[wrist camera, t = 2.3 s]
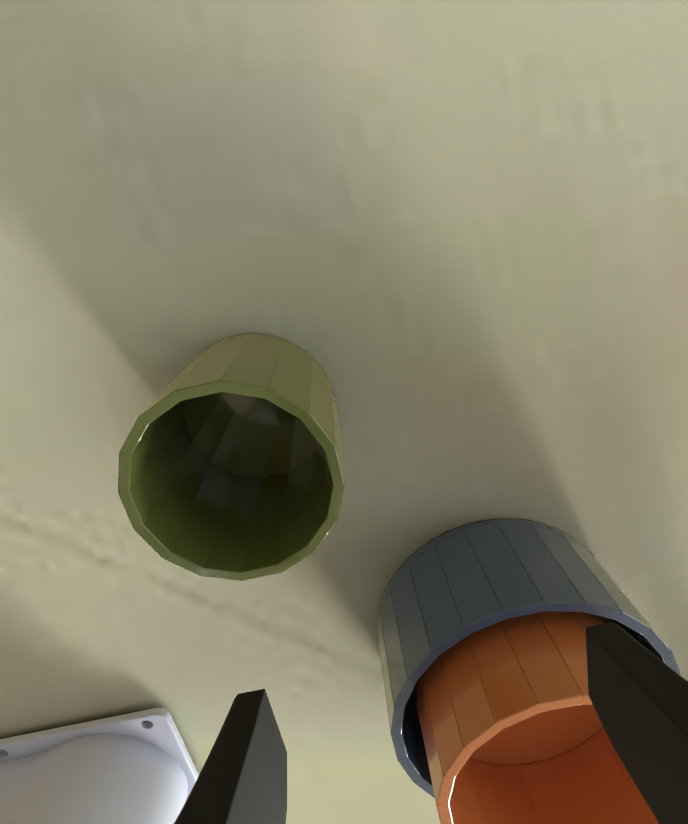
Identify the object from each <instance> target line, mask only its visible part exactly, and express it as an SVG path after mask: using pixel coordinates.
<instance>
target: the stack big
mask: <svg viewBox="0 0 688 824" xmlns="http://www.w3.org/2000/svg"><path fill="white" fill-rule="evenodd" d="M540 612H584V613H588V614H592V615H596V616H601V617H605V618H606V619H607V620H608V621H609V623H610V622H614V623H616V624H617V625H619V626H620V627H621V628H622V629H623V630H625V631H626V632H627V633H628V634H629V635H631V636H632V637H633V638H634V639H636V640H637V641H638V642H639V643H640V644H642V645H643V646H644V647H645V648H646V649H648V650H649V651H650V652H651V653H653V654H654V655H655V656H656V657H658V658H659V659H660V660H661V661H663V662H664V663H665V664H666V665H668V666H669V667H670V668H671V669H673V670H674V671H675V672H676V673H678V674H679V675H680V676H681V674H680V672H679V669H678V666H677V664H676V661H675V658H674V655H673V653H672V650H671V649H670V648H669V646H668V645H667V644H666V643H665V642H664V640H663V639H662V638H661V637H660V636H659V634H658V633H657V632H656V631H655V630H654V628H653V627H652V626H651V625H650V623H649V622H648V621H647V620H646V619H645V617H644V616H643V615H642V614H641V613H640V611H639V610H638V609H637V608H636V607H635V605H634V604H633V603H632V602H631V601H630V599H629V598H628V597H627V596H626V594H625V593H624V592H623V591H622V590H621V588H620V587H619V586H618V585H617V584H616V582H615V581H614V580H613V579H612V578H611V576H610V575H609V574H608V573H607V572H606V570H605V569H604V568H603V567H602V566H601V564H600V563H599V562H598V561H597V560H596V559H595V558H594V556H593V555H592V554H591V553H590V552H589V551H588V550H587V549H586V548H585V547H584V546H583V545H582V544H581V543H580V542H579V541H577V540H576V539H575V538H573V537H572V536H570V535H569V534H567V533H565V532H563V531H561V530H559V529H557V528H554V527H551V526H548V525H545V524H543V523H538V522H533V521H528V520H518V519H496V520H488V521H482V522H477V523H473V524H469V525H465V526H462V527H459V528H457V529H454V530H452V531H449V532H447V533H445V534H443V535H441V536H439V537H437V538H435V539H433V540H432V541H430V542H429V543H427V544H426V545H424V546H423V547H421V548H420V549H419V550H417V551H416V552H415V553H414V554H413V555H412V556H411V557H409V558H408V559H407V560H406V561H405V563H404V564H403V565H402V566H401V567H400V568H399V569H398V570H397V572H396V573H395V575H394V576H393V578H392V579H391V581H390V582H389V584H388V586H387V588H386V590H385V592H384V594H383V597H382V600H381V603H380V607H379V613H378V627H377V631H378V636H377V637H378V644H379V652H380V659H381V666H382V673H383V681H384V688H385V695H386V702H387V710H388V717H389V724H390V731H391V737H392V740H393V744H394V748H395V752H396V756H397V759H398V761H399V762H400V764H401V765H402V767H403V768H404V770H405V771H406V772H407V774H408V775H409V777H410V778H411V780H412V781H413V782H414V783H415V784H417V785H418V786H419V787H421V788H422V789H423V790H424V791H426V792H427V793H428V794H430V795H431V796H432V797H434V798H435V796H434V791H433V786H432V781H431V776H430V771H429V766H428V761H427V756H426V751H425V746H424V741H423V736H422V731H421V726H420V721H419V716H418V710H417V704H416V699H415V694H414V687H415V685H416V683H417V681H418V679H419V678H420V677H421V676H422V675H423V674H424V673H425V671H426V670H427V669H428V668H429V667H430V666H431V665H432V664H433V662H434V661H435V660H436V659H437V658H438V657H439V656H440V655H441V654H443V653H444V652H445V651H447V650H448V649H450V648H451V647H453V646H454V645H455V644H457V643H458V642H460V641H461V640H463V639H464V638H465V637H467V636H468V635H470V634H472V633H474V632H477V631H479V630H482V629H484V628H486V627H489V626H491V625H493V624H496V623H498V622H500V621H503V620H505V619H510V618H515V617H520V616H525V615H530V614H535V613H540Z"/></svg>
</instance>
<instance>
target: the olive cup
mask: <svg viewBox="0 0 688 824" xmlns="http://www.w3.org/2000/svg"><path fill="white" fill-rule="evenodd" d="M343 489H344V474H343V463H342V452H341V441H340V430H339V419H338V410H337V406H336V402H335V396H334V392H333V388H332V385H331V382H330V381H329V379H328V376H327V375H326V373H325V372H324V370H323V368H322V367H321V366H320V365H319V363H318V362H317V361H316V360H315V359H314V358H313V357H312V356H311V355H310V354H309V353H308V352H306V351H305V350H303V349H302V348H301V347H299V346H297V345H296V344H294V343H292V342H290V341H288V340H285V339H282V338H279V337H276V336H271V335H265V334H243V335H237V336H233V337H230V338H226V339H224V340H222V341H219V342H217V343H215V344H214V345H212V346H211V347H209V348H208V349H206V350H205V351H204V352H203V353H202V354H200V355H199V356H198V357H196V358H195V359H194V360H193V361H192V362H191V363H190V364H189V365H188V366H187V367H186V368H185V369H184V370H183V371H182V372H181V373H180V374H179V375H178V376H177V377H176V378H175V379H174V380H173V381H172V382H171V383H170V385H169V386H168V387H167V388H166V389H165V390H164V391H163V392H162V393H161V394H160V395H159V396H158V397H157V398H156V399H155V400H154V401H153V402H152V403H151V404H150V405H149V406H148V407H147V408H146V410H145V411H144V412H143V413H142V414H141V415H140V416H139V417H138V419H137V420H136V422H135V424H134V426H133V428H132V430H131V432H130V433H129V435H128V437H127V439H126V441H125V443H124V444H123V446H122V448H121V450H120V453H119V478H118V492H119V496H120V498H121V501H122V503H123V505H124V508H125V510H126V512H127V515H128V517H129V519H130V522H131V524H132V526H133V528H134V530H135V531H136V532H137V533H138V534H139V535H140V536H141V537H142V538H143V539H144V540H145V541H146V542H147V543H148V544H149V545H150V546H151V547H152V548H153V549H154V550H155V551H156V552H157V553H158V554H159V555H160V556H161V557H162V558H164V559H166V560H168V561H170V562H172V563H174V564H176V565H178V566H181V567H183V568H185V569H187V570H189V571H191V572H193V573H196V574H198V575H201V576H206V577H214V578H223V579H231V580H240V581H241V580H248V579H253V578H257V577H262V576H267V575H272V574H277V573H281V572H283V571H285V570H286V569H288V568H289V567H291V566H293V565H294V564H296V563H298V562H299V561H301V560H302V559H304V558H306V557H307V556H309V555H310V554H312V553H314V551H316V549H317V548H318V547H319V545H320V544H321V542H322V541H323V540H324V538H325V537H326V536H327V534H328V533H329V531H330V530H331V529H332V527H333V526H334V525H335V523H336V521H337V519H338V514H339V509H340V504H341V499H342V494H343Z"/></svg>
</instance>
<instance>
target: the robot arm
mask: <svg viewBox="0 0 688 824" xmlns="http://www.w3.org/2000/svg"><path fill="white" fill-rule="evenodd" d="M585 628H586V650H587V672H588V694H589V697H590V699H591V702H592V704H593V706H594V708H595V710H596V712H597V714H598V717H599V719H600V721H601V723H602V725H603V727H604V729H605V731H606V733H607V735H608V737H609V739H610V741H611V744H612V746H613V747H614V749H615V751H616V753H617V754H618V756H619V758H620V759H621V761H622V763H623V764H624V766H625V768H626V769H627V771H628V773H629V774H630V776H631V778H632V779H633V781H634V783H635V784H636V786H637V788H638V789H639V791H640V793H641V794H642V796H643V798H644V799H645V801H646V803H647V804H648V806H649V808H650V809H651V811H652V813H653V814H654V816H655V818H656V819H657V821H658V822H659V824H688V681H687V680H685V679H684V678H683V677H681V676H680V675H679V674H678V673H676V672H675V671H674V670H673V669H671V668H670V667H669V666H668V665H666V664H665V663H664V662H663V661H661V660H660V659H659V658H658V657H656V656H655V655H654V654H653V653H651V652H650V651H649V650H648V649H646V648H645V647H644V646H643V645H642V644H640V643H639V642H638V641H637V640H636V639H634V638H633V637H632V636H631V635H629V634H628V633H627V632H626V631H625V630H623V629H622V628H621V627H620V626H619V625H617V624H616V623H614V622H610V623H605V624H600V625H595V626H590V627H585ZM286 811H287V751H286V748H285V745H284V743H283V740H282V737H281V734H280V731H279V728H278V726H277V723H276V720H275V717H274V714H273V711H272V708H271V706H270V703H269V700H268V697H267V694H266V691H265V689H262V690H257V691H251V692H246V693H241V694H238V695H237V696H236V698H235V699H234V701H233V704H232V706H231V708H230V711H229V713H228V715H227V717H226V719H225V722H224V724H223V726H222V728H221V731H220V733H219V735H218V737H217V739H216V741H215V744H214V746H213V748H212V750H211V752H210V754H209V756H208V758H207V760H206V762H205V764H204V766H203V768H202V770H201V772H200V774H198V772H197V770H196V768H195V766H194V764H193V761H192V759H191V757H190V755H189V753H188V751H187V749H186V746H185V744H184V742H183V740H182V738H181V736H180V734H179V732H178V729H177V727H176V725H175V723H174V721H173V719H172V717H171V715H170V713H169V712H168V710H166V709H164V708H153V709H148V710H143V711H138V712H133V713H128V714H123V715H118V716H113V717H108V718H103V719H98V720H94V721H89V722H84V723H79V724H74V725H69V726H64V727H59V728H54V729H49V730H44V731H39V732H34V733H29V734H24V735H19V736H14V737H9V738H4V739H0V824H285V823H286Z"/></svg>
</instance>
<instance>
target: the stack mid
mask: <svg viewBox="0 0 688 824" xmlns="http://www.w3.org/2000/svg"><path fill="white" fill-rule="evenodd" d="M605 623H609V621H608V620H607V619H606V618H605V617H601V616H596V615H592V614H588V613H584V612H540V613H535V614H530V615H525V616H520V617H515V618H510V619H505V620H503V621H500V622H498V623H496V624H493V625H491V626H489V627H486V628H484V629H482V630H479V631H477V632H474V633H472V634H470V635H468V636H467V637H465V638H464V639H463V640H461V641H460V642H458V643H457V644H455V645H454V646H453V647H451V648H450V649H448V650H447V651H445V652H444V653H443V654H441V655H440V656H439V657H438V658H437V659H436V660H435V661H434V662H433V664H432V665H431V666H430V667H429V668H428V669H427V670H426V671H425V673H424V674H423V675H422V676H421V677H420V678H419V679H418V681H417V683H416V685H415V687H414V694H415V699H416V704H417V710H418V716H419V721H420V726H421V731H422V736H423V741H424V746H425V751H426V756H427V761H428V766H429V771H430V776H431V781H432V786H433V791H434V796H435V801H436V805H437V810H438V814H439V818H440V823H441V824H659V822H658V821H657V819H656V818H655V816H654V814H653V813H652V811H651V809H650V808H649V806H648V804H647V803H646V801H645V799H644V798H643V796H642V794H641V793H640V791H639V789H638V788H637V786H636V784H635V783H634V781H633V779H632V778H631V776H630V774H629V773H628V771H627V769H626V768H625V766H624V764H623V763H622V761H621V759H620V758H619V756H618V754H617V753H616V751H615V749H614V747H613V746H612V744H611V741H610V739H609V737H608V735H607V733H606V731H605V729H604V727H603V725H602V723H601V721H600V719H599V717H598V714H597V712H596V710H595V708H594V706H593V704H592V702H591V699H590V697H589V694H588V672H587V650H586V628H585V627H590V626H595V625H600V624H605Z"/></svg>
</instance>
